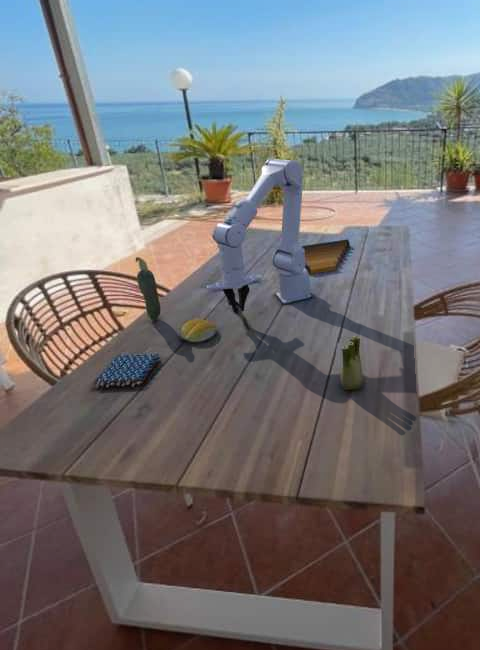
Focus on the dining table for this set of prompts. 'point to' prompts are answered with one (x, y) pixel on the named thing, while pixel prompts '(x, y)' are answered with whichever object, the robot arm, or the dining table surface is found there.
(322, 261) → the pan flute
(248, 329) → the knife
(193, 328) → the bread roll
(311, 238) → the dining table surface
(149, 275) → the vegetable
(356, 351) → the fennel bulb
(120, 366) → the woven mat
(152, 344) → the dining table surface
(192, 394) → the dining table surface
